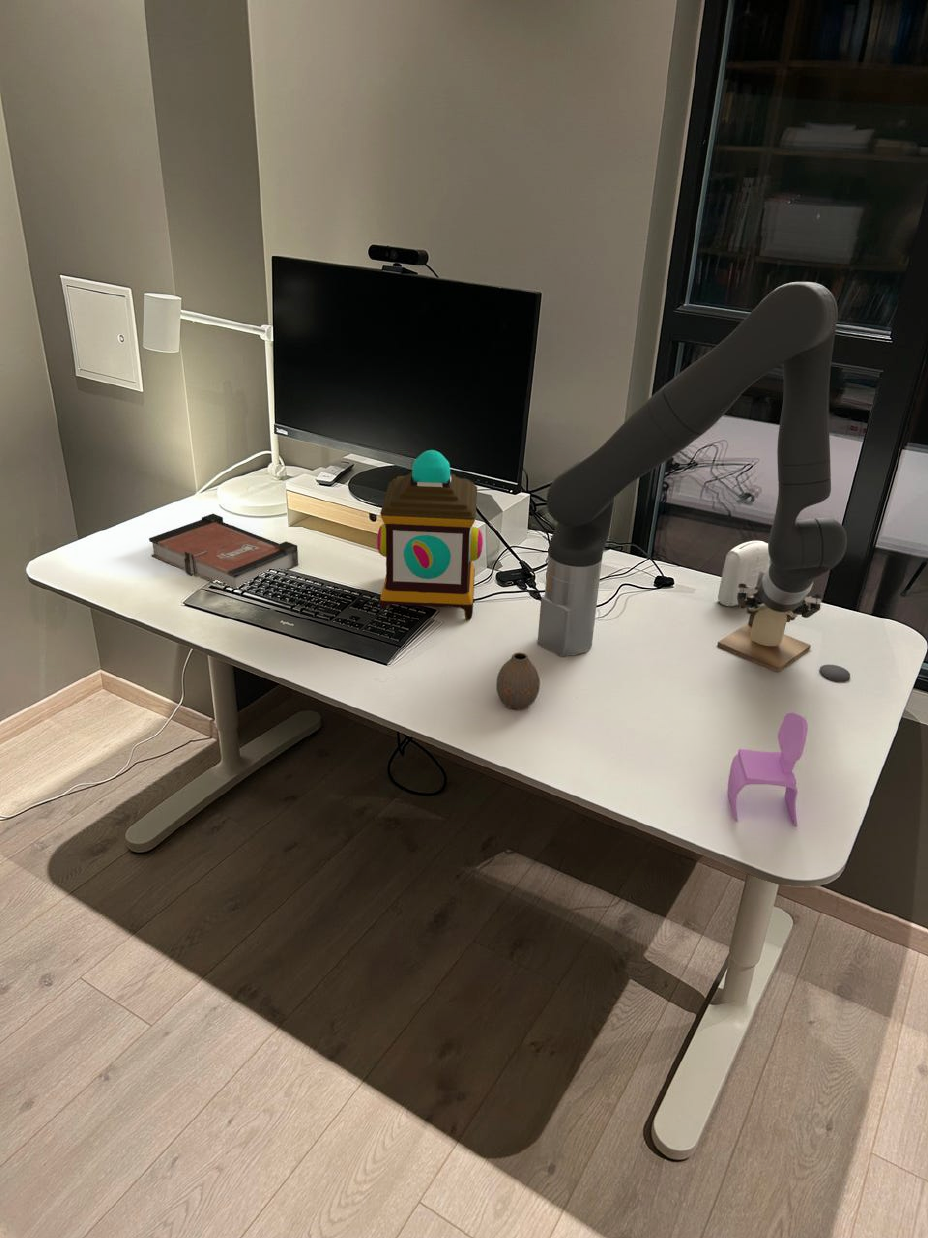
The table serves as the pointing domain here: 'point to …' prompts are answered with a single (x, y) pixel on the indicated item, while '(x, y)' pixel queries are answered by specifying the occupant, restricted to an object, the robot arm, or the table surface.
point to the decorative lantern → (429, 537)
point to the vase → (518, 682)
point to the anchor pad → (834, 673)
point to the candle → (768, 627)
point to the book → (222, 551)
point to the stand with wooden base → (762, 654)
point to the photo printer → (742, 569)
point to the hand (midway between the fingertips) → (769, 614)
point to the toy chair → (771, 764)
